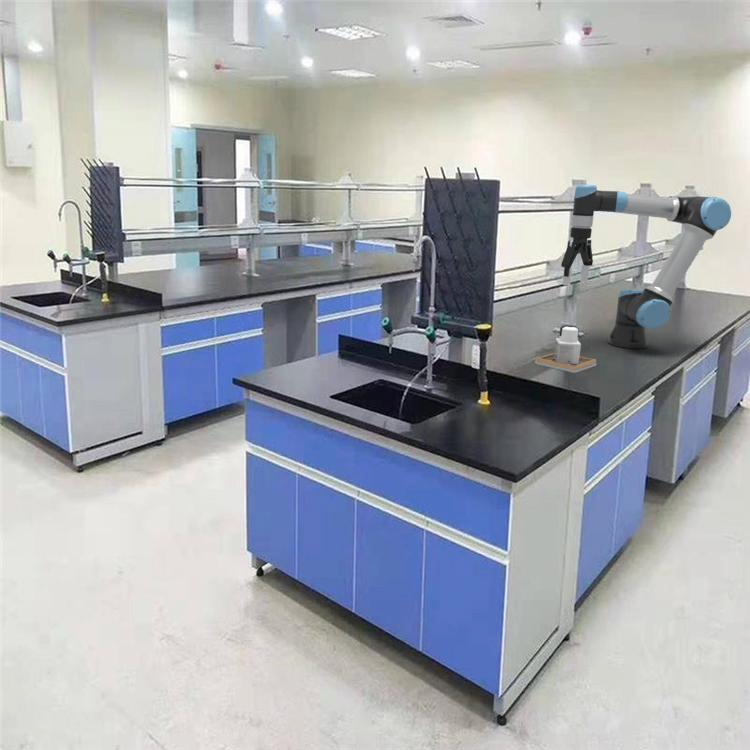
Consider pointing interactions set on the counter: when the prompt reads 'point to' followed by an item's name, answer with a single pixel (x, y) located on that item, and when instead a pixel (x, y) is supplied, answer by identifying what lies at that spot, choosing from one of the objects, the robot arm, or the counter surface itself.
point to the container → (567, 345)
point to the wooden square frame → (551, 362)
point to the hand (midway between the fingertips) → (575, 283)
